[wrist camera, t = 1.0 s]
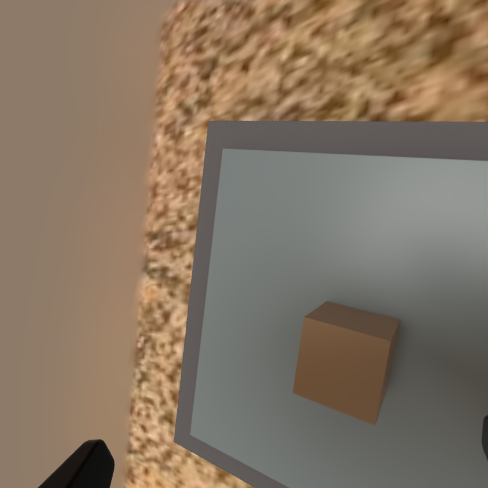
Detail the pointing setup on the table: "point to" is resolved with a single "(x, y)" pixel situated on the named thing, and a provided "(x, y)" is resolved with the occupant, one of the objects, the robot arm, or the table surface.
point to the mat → (310, 141)
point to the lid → (347, 320)
